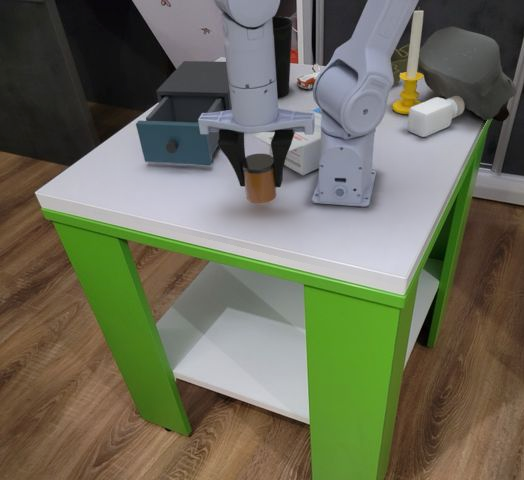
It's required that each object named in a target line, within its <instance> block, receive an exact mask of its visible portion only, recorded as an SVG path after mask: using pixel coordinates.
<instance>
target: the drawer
mask: <svg viewBox="0 0 524 480" xmlns="http://www.w3.org/2000/svg"><path fill="white" fill-rule="evenodd" d="M220 111H226V107H225V99H224V97H207V96H171V95H166V96H165V97H164V98H163V99H162V100H161V101H160V102H159V103H157V105H156V106H155V107H153V109H152V110H151V111H150V112H149V114H148V115H147V116H145V120H138V121H136V123H135V126H136V130H137V134H138V140H139V144H140V147H141V151H142V155H143V159H144V162H145V163H147V162H148V163H163V164H164V163H165V164H180V165H181V164H183V165H198V166H199V165H200V166H212V164H213V161H214V160H213V155H214V154H215V152H216V150H217V148H219V145H218V140H219V132H209V134H200V128H199V122H198V119H199V117H200V116H201V114H202V113H213V112H220Z"/></svg>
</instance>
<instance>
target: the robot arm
mask: <svg viewBox="0 0 524 480" xmlns="http://www.w3.org/2000/svg"><path fill="white" fill-rule="evenodd" d="M212 1H213V3H214V5H215V6H216V7H217V9H219V10H220V11H221V14H220V16H221V24H222V31H223V49H224V55H225V62H226V65H227V74H228V82H229V90H230V98H231V106H232V110H227V111H220V112H213V113H202V114H201V116H200V117H199V119H198V122H199V128H200V134H209V132H219V140H218V148H219V150H220V151H221V152H222V153H223V154H224V156H225V157H226V158H227V160H228V161H229V163H230V165H231V166H232V168H233V171H234V173H235V175H236V177H237V181H238V184H239V186H240V187H244V188H245V183H244V175H243V169H242V165H241V162H242V160H243V159H244V158H245V157H246V151H245V149H246V147H245V146H246V145H245V134H257V133H261V132H275V133H274V136H273V138H272V141H271V148H272V153H273V160H274V182H275V187H276V188H281V187H282V183H283V179H284V178H283V177H284V168H285V165H284V163H285V159H286V155H287V153H288V151H289V148H290V146H291V143H292V140H293V136H294V133H295V132H304V134H306V135H313V132H314V128H315V113H307V112H308V111H307V112H306V111H305V112H304V111H297V110H291V109H285V108H280V107H279V98H278V97H277V80H276V65H275V48H274V35H273V23H272V17H273V16H276V14H277V13H278V10H279V7H280V4H281V0H212ZM419 1H420V0H367V1H366V4H365V6H364V8H363V10H362V13H361V15H360V17H359V19H358V22H357V24H356V26H355V29H354V30H353V33H352V35H351V38H349V39H348V40H347V41H345V42H344V43H342V44H341V45H340V46H338V47H337V48H336V49H334V52H333V54H332V56H331V59H330V61H329V62H328V63H327V64H326V65H325V66H324V67H323V68H322V69H321V70H322V71H321V72H320V73H319V74H318V76H317V78H316V80H315V83H314V87H313V88H312V95H313V99H314V102H315V104H316V105H317V108H319V107H320V108H321V109H322V119H321V157H320V160H319V168H318V181H317V184H316V186H315V189H314V192H313V195H312V198H311V202H312V203H313V204H320V205H321V204H322V205H323V204H324V205H336V206H337V205H338V206H350V207H351V206H352V207H364V208H366V207H367V208H368V207H369V206H370V202H371V198H372V194H373V189H374V185H375V180H376V176H377V171H376V170H375V169H373V158H374V145H375V142H374V141H375V133H376V128H377V127H378V126H379V125H380V124H381V123H382V121H383V119H384V117H385V114H386V112H387V106H388V98H389V94H390V92H391V90H392V87H393V86H394V84H393V83H394V78H393V72H392V66H391V62H392V60H391V58H392V57H391V56H392V54H393V52H394V50H395V48H396V49H397V46H398V44H399V42H400V40H401V38H402V36H403V34H404V32H405V29H406V27H407V25H408V23H409V21H410V19H411V18H412V16H413V14H414V11H415V9H416V7H417V5H418V3H419Z"/></svg>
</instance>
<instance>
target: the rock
mask: <svg viewBox="0 0 524 480" xmlns="http://www.w3.org/2000/svg"><path fill="white" fill-rule="evenodd" d="M420 49H421V50H420V52H419V59H418V68H417V70H418V71H421V72H423V73H422V74H423V81H424V82H425V85H426V86H427V87H428V89H430V90H431V91H432V92H433V93H436V94H437V95H439V96H441V97H444V99H448V98H450V97H453V96H459V97H461V98H462V99H463V101H464V103H465V109H467V110H469V111H470V112H472V113H474V114H475V115H476V116H477V117H480V118H481V119H482V120H484V121H489V120H495V121H496V122H504V121H506V120H507V119H508V118H509V117H510V112H509V109H508V107H507V106H506V104H507V102H508V101H510V100H511V99H512V98H514V97H515V95H517V85H516V84H515V83H514V81H513V80H512V79H511V78H510V77H509V76H508V75H506V74H505V73H504V72H503V67H502V65H501V63H502V62H501V52H500V46H499V44H498V43H497V41H496V40H495V39H493V38H491V37H489V36H487V35H484V34H481V33H477V32H474V31H470V30H465V29H462V28H460V27H457V26H447V27H444V28H441V29H438V30H436V31H434V32H433V33H432V34H431V35H430V36H429V37H428V38H427V39H426V41H425V42H424V43H423V45H422V46H421V47H420Z"/></svg>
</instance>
